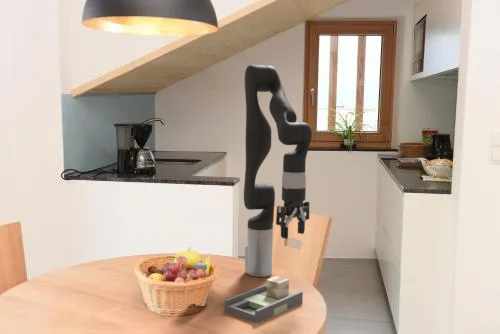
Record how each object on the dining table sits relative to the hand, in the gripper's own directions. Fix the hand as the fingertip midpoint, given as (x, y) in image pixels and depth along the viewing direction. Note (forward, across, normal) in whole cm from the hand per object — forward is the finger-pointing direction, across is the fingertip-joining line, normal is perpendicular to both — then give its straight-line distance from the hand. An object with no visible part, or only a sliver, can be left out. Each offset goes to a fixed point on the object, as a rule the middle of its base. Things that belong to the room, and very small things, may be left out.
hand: (292, 235), depth 174 cm
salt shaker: (+20, +25, -16) cm, 36 cm away
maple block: (+18, +6, -1) cm, 19 cm away
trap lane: (+20, +13, -1) cm, 24 cm away
